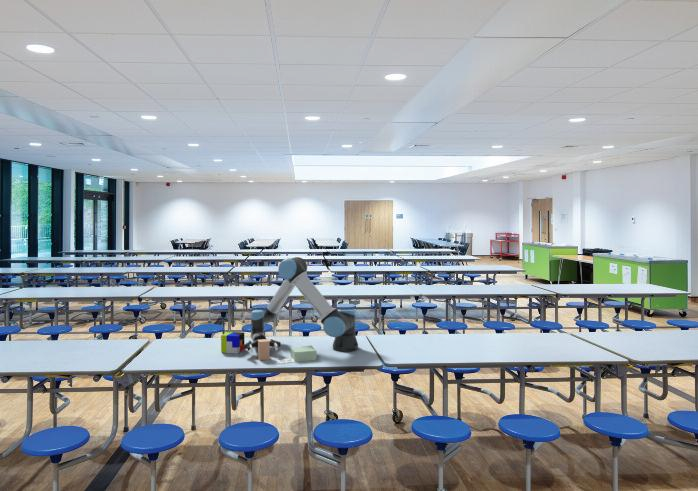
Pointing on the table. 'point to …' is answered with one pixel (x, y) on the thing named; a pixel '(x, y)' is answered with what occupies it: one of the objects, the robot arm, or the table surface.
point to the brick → (263, 349)
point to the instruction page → (286, 361)
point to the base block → (303, 353)
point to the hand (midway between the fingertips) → (264, 348)
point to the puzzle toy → (232, 342)
